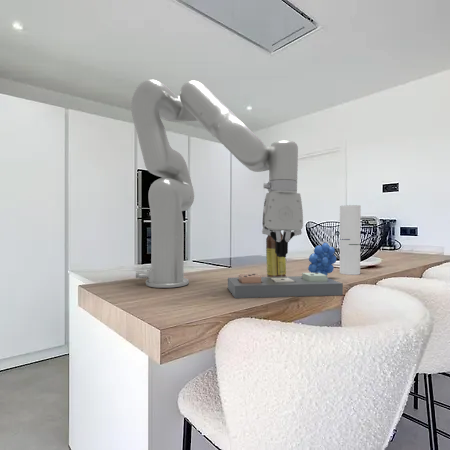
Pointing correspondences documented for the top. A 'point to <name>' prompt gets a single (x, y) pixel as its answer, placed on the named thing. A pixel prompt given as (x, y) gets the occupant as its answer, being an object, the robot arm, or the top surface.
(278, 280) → the tile one
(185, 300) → the top surface
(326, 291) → the button board
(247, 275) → the tile three
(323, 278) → the tile two
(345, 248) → the cylindrical container
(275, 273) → the sauce bottle
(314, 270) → the grapes
